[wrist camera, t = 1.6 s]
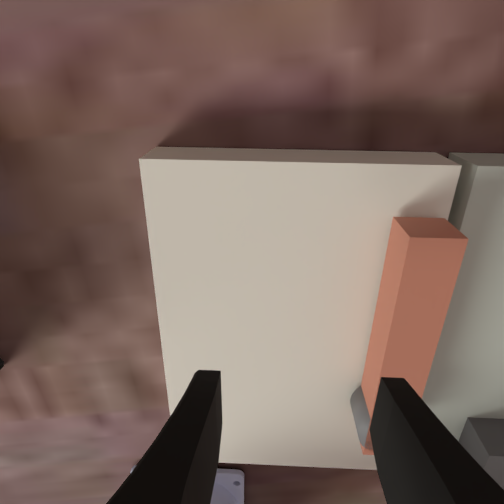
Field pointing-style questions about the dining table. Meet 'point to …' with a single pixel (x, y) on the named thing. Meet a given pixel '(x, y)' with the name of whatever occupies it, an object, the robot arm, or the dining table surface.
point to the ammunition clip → (1, 363)
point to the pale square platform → (319, 291)
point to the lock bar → (408, 310)
